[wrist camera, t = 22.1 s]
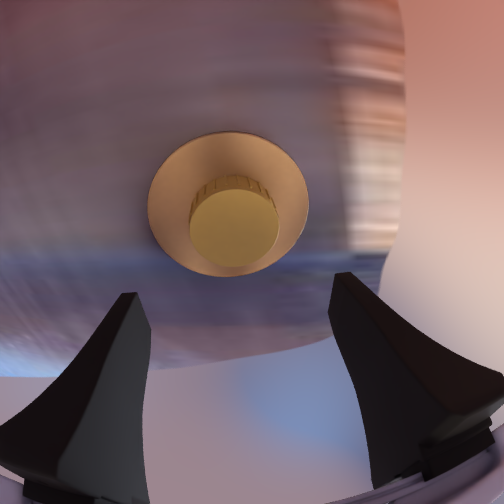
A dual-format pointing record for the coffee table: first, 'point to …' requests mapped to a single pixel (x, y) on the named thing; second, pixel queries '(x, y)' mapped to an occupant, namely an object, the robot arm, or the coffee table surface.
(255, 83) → the coffee table surface
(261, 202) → the lid
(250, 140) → the coaster
